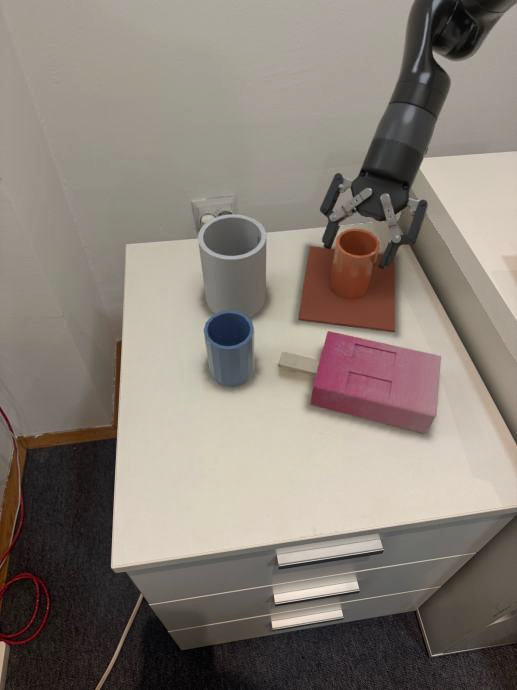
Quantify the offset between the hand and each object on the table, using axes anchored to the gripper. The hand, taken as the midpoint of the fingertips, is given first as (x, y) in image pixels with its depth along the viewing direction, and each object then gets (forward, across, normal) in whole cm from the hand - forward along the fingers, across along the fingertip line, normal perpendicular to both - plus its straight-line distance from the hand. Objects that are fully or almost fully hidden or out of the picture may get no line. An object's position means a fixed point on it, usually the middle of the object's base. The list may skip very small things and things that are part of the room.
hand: (353, 258), depth 70 cm
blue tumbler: (+20, -8, -11) cm, 24 cm away
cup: (+12, -14, -2) cm, 19 cm away
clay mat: (+4, 0, +5) cm, 6 cm away
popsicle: (+16, +8, -7) cm, 19 cm away
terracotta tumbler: (+4, 0, +4) cm, 6 cm away
